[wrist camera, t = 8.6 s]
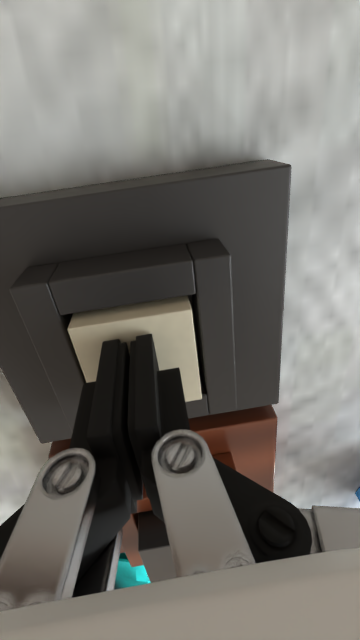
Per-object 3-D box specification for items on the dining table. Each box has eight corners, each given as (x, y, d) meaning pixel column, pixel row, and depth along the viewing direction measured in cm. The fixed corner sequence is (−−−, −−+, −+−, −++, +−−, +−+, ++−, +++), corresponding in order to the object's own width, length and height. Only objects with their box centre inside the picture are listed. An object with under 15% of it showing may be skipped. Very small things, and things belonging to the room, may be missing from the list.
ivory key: (77, 299, 12) (66, 329, 10) (184, 283, 12) (191, 309, 10) (103, 380, 14) (98, 416, 12) (194, 365, 14) (202, 399, 12)
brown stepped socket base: (56, 423, 18) (37, 491, 15) (264, 388, 19) (292, 447, 15) (104, 523, 24) (97, 589, 20) (261, 495, 24) (281, 555, 21)
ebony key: (138, 508, 17) (137, 551, 15) (212, 495, 17) (220, 536, 15) (150, 544, 19) (151, 586, 17) (216, 532, 19) (224, 573, 17)
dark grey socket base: (-45, 204, 12) (-120, 234, 9) (269, 159, 12) (319, 170, 9) (51, 410, 18) (29, 478, 14) (264, 375, 18) (293, 433, 15)
